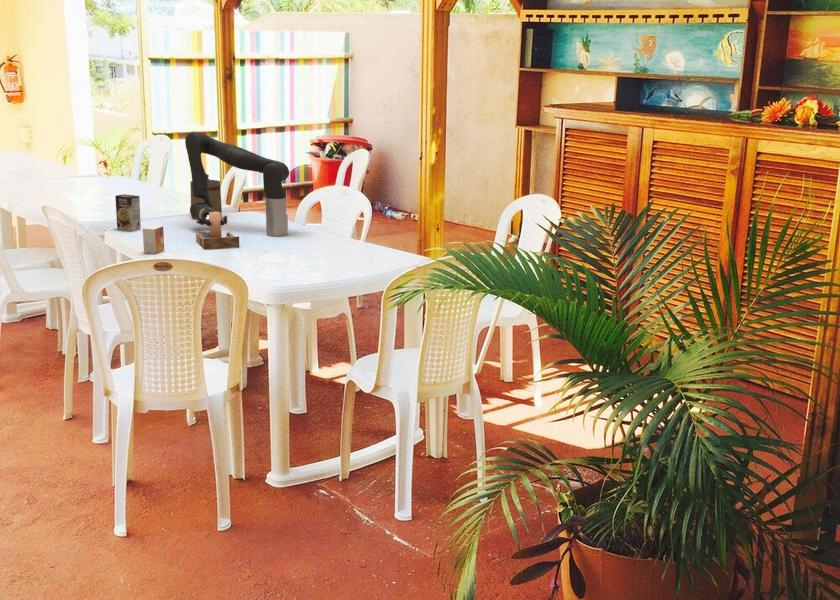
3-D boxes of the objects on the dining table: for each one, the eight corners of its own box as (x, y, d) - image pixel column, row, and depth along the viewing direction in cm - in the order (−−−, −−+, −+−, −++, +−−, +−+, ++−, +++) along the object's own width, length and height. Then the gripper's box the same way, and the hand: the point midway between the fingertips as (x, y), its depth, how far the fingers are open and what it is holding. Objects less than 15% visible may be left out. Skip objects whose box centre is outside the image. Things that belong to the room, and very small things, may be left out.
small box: (156, 254, 393) (154, 229, 390) (143, 253, 394) (142, 228, 391) (164, 250, 400) (163, 225, 398) (152, 249, 401) (151, 225, 399)
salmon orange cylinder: (220, 237, 420) (219, 211, 417) (222, 240, 416) (221, 213, 412) (208, 238, 418) (207, 211, 415) (211, 240, 414) (210, 213, 410)
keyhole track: (230, 239, 425) (229, 229, 424) (239, 247, 409) (239, 236, 408) (196, 241, 419) (195, 231, 418) (204, 249, 403) (204, 239, 402)
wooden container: (210, 214, 484) (209, 170, 478) (227, 218, 474) (226, 174, 468) (185, 217, 474) (183, 173, 468) (202, 221, 464) (200, 176, 458)
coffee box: (116, 230, 438) (114, 195, 434) (125, 227, 444) (123, 193, 440) (132, 232, 435) (130, 197, 431) (141, 229, 441) (139, 195, 437)
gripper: (192, 209, 423) (199, 215, 409) (224, 207, 429) (232, 214, 414) (192, 225, 426) (200, 233, 411) (224, 223, 431) (233, 231, 416)
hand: (216, 223), depth 412 cm, fingers closed on salmon orange cylinder, 5 cm apart
